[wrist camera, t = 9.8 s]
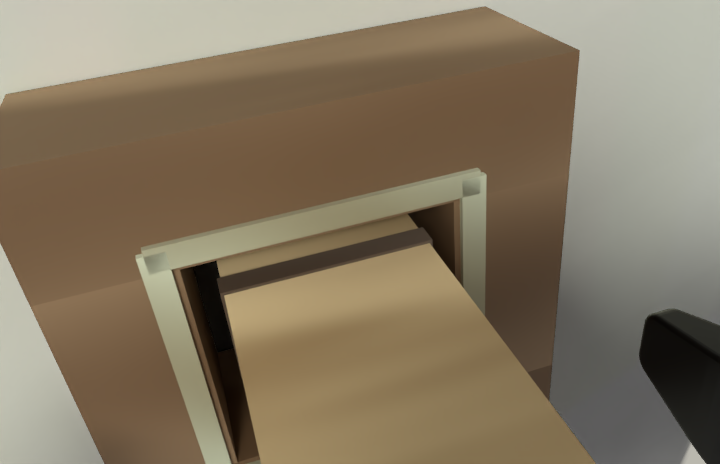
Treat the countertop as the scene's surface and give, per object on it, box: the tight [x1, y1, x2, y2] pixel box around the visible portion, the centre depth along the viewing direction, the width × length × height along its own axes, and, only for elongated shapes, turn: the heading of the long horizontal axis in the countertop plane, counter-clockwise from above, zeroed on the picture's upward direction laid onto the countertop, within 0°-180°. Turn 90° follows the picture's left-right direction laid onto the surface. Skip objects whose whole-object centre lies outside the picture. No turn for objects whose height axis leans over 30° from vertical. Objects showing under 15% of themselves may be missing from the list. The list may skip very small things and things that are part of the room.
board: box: [0, 7, 580, 464], centre depth 12 cm, size 8×8×3 cm
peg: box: [217, 214, 596, 464], centre depth 10 cm, size 3×3×9 cm
